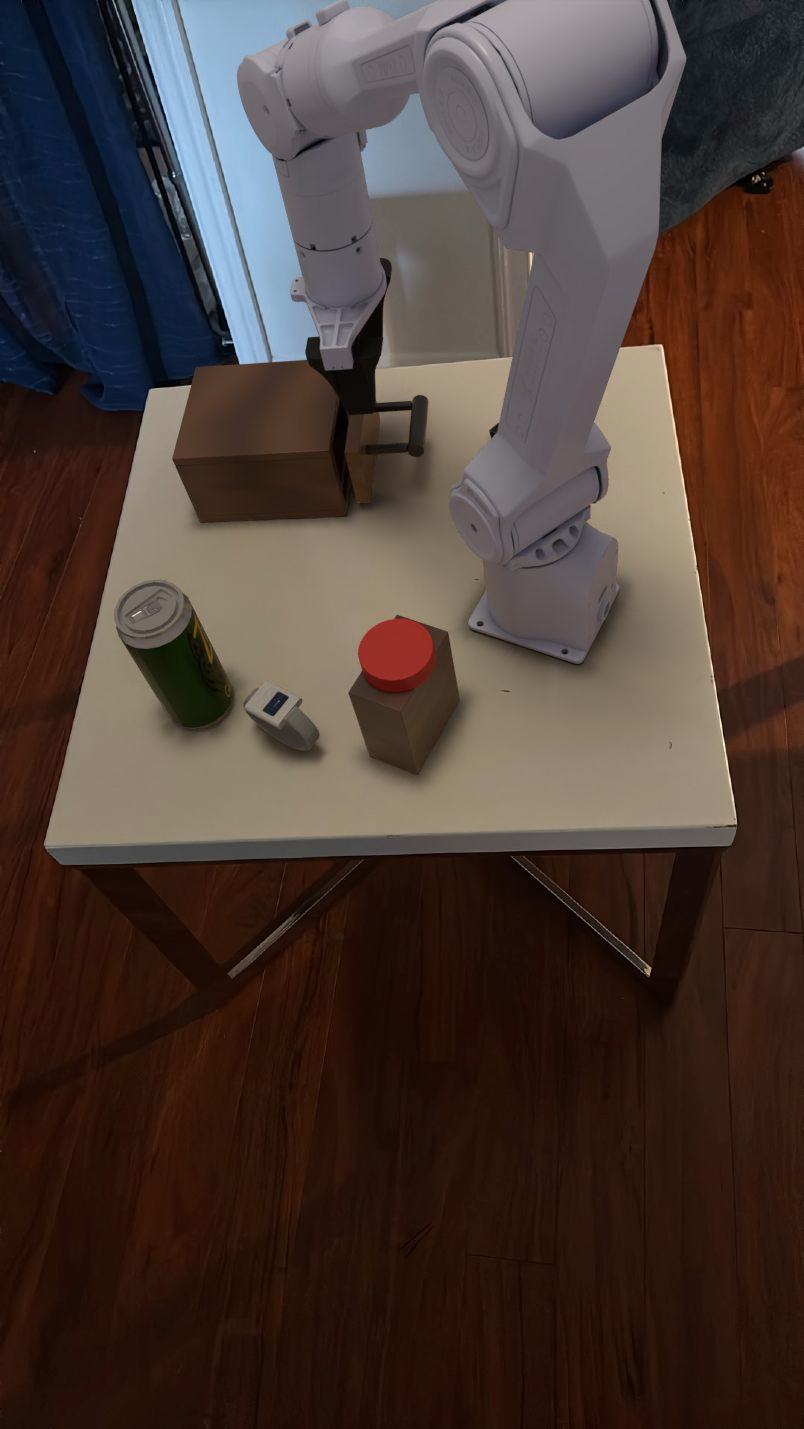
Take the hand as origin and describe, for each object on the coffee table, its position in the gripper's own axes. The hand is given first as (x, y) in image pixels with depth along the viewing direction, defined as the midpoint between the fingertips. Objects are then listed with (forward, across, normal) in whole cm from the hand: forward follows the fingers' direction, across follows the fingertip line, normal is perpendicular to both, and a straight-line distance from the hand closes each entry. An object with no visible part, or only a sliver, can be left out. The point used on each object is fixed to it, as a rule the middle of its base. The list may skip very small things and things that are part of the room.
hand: (365, 382), depth 83 cm
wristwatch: (+10, +28, -5) cm, 30 cm away
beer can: (+10, +24, -12) cm, 29 cm away
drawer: (+8, 0, -4) cm, 9 cm away
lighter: (+10, +1, +13) cm, 16 cm away
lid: (+1, +27, +5) cm, 27 cm away
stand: (+9, +27, +5) cm, 29 cm away
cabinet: (+9, 0, -9) cm, 13 cm away
